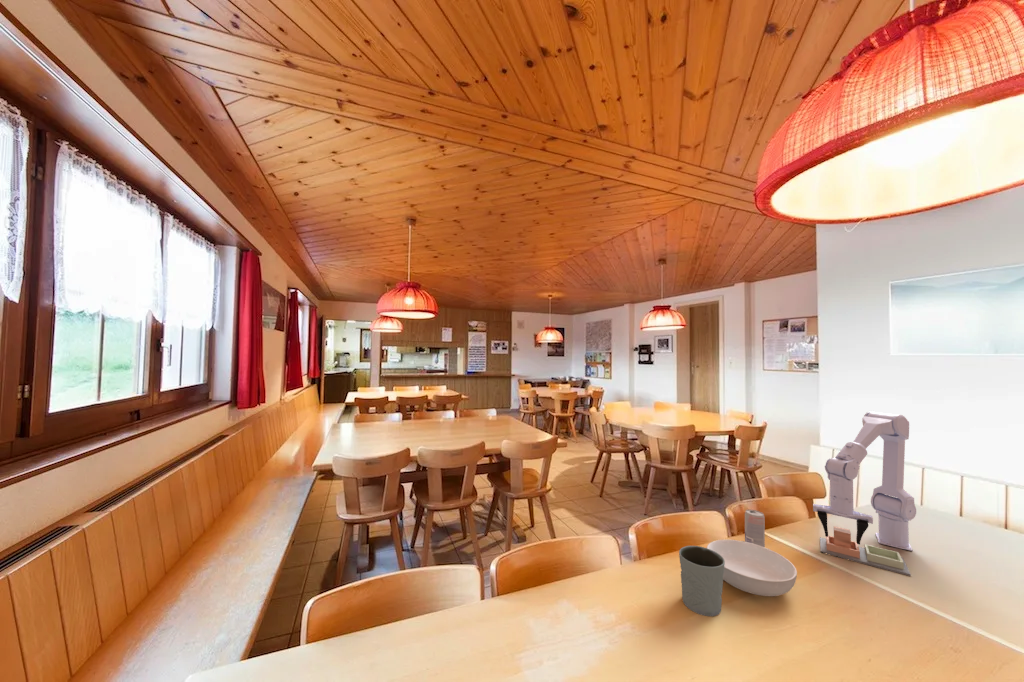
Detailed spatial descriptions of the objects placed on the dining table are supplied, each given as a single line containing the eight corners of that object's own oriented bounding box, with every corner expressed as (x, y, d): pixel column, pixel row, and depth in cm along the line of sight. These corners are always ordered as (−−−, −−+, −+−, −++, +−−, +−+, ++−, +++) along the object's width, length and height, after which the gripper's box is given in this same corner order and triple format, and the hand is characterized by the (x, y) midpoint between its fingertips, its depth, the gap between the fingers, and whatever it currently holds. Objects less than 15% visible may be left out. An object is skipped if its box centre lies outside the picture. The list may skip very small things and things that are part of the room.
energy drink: (758, 547, 123) (758, 509, 124) (768, 555, 118) (768, 516, 118) (741, 546, 124) (741, 508, 124) (750, 554, 118) (750, 515, 119)
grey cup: (720, 597, 96) (720, 549, 97) (729, 624, 87) (729, 570, 87) (677, 588, 99) (677, 542, 100) (680, 613, 90) (681, 561, 90)
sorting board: (820, 538, 130) (819, 531, 130) (902, 559, 118) (902, 550, 118) (820, 552, 121) (820, 544, 121) (910, 576, 108) (910, 566, 108)
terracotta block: (834, 544, 125) (833, 526, 125) (850, 548, 122) (849, 529, 122) (834, 549, 122) (834, 530, 122) (851, 553, 119) (850, 534, 119)
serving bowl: (697, 584, 102) (697, 558, 102) (716, 555, 118) (716, 532, 118) (793, 621, 88) (793, 591, 88) (800, 582, 104) (799, 556, 104)
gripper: (813, 494, 124) (813, 536, 123) (873, 506, 115) (874, 551, 114) (812, 488, 130) (813, 529, 129) (871, 499, 120) (871, 543, 120)
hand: (842, 539), depth 122 cm, fingers open, 7 cm apart
